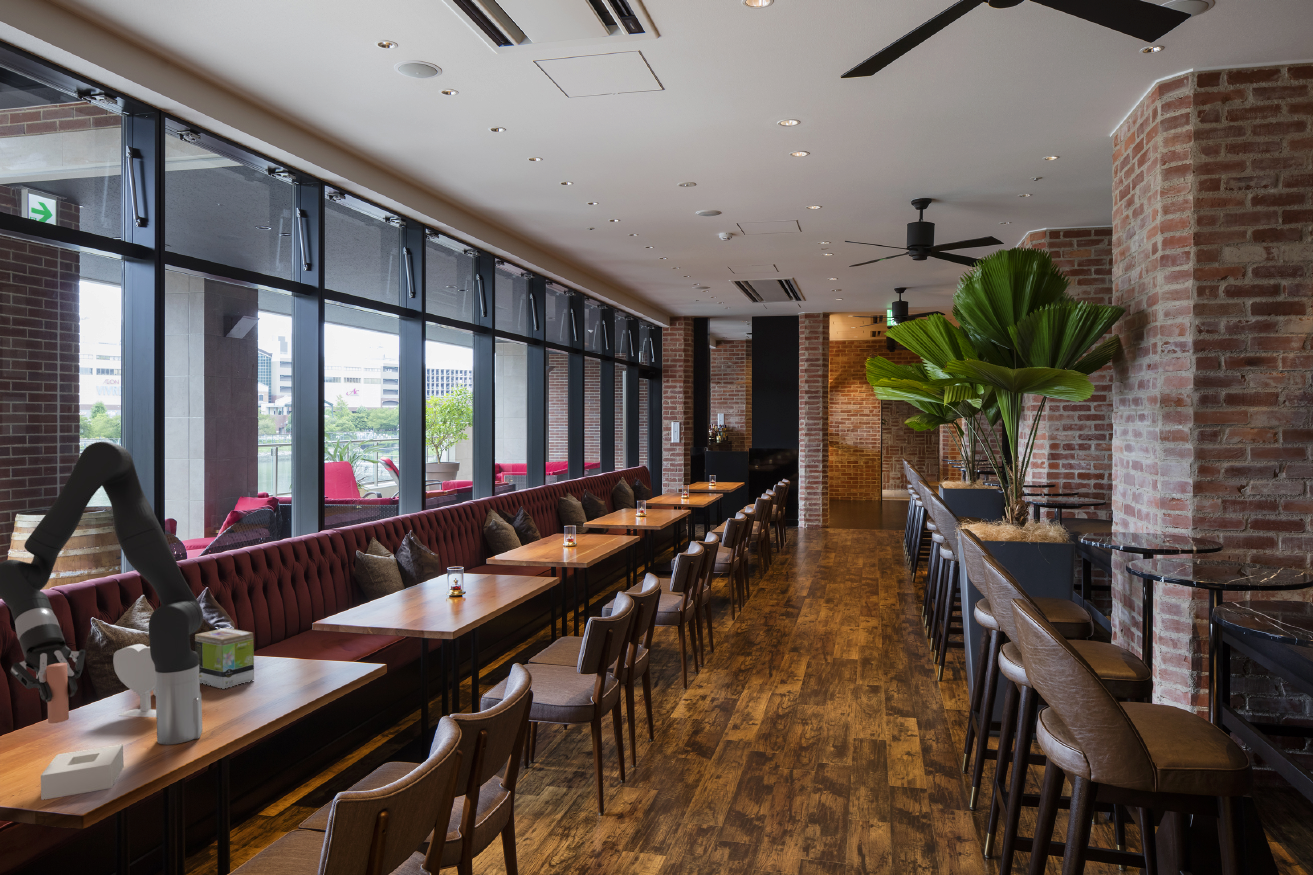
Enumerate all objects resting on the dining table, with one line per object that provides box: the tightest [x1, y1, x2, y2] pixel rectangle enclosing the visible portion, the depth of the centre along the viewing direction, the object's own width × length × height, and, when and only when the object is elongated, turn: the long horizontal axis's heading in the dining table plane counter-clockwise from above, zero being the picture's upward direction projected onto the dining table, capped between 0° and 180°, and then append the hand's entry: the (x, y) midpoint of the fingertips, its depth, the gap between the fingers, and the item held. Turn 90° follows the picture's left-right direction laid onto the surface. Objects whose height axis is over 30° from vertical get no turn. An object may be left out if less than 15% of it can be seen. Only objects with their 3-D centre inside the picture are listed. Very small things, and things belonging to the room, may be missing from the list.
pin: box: [46, 663, 70, 724], centre depth 173 cm, size 4×4×12 cm
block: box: [40, 743, 124, 801], centre depth 170 cm, size 12×12×5 cm
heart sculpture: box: [112, 643, 156, 718], centre depth 213 cm, size 16×5×18 cm, turn 81°
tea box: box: [194, 627, 255, 690], centre depth 239 cm, size 15×10×15 cm, turn 58°
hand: (61, 696), depth 172 cm, fingers closed on pin, 3 cm apart
